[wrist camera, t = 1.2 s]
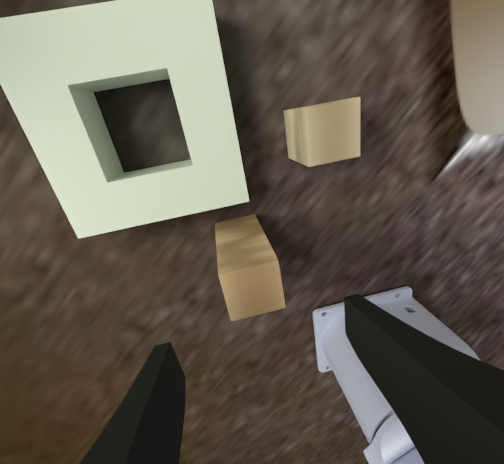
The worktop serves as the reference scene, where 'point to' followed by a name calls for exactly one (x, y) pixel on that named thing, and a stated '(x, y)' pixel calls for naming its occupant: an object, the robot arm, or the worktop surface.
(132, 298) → the worktop surface
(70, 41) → the socket
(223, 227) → the long pin
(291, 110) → the short pin
